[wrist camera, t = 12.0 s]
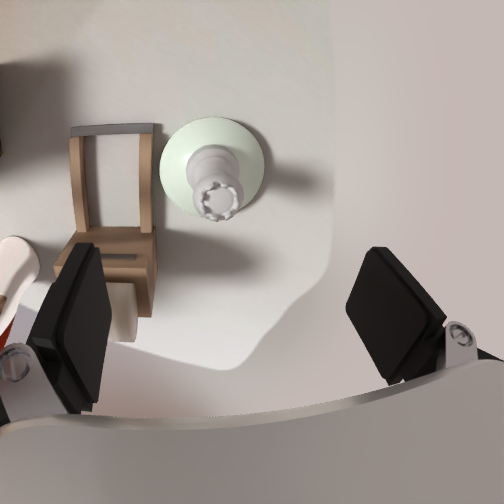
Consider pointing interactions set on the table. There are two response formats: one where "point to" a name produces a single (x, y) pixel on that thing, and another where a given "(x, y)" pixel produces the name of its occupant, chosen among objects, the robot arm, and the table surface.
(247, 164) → the pale green round disc
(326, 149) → the table surface
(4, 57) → the table surface
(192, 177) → the rook chess piece
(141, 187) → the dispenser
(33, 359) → the robot arm
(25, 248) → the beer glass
